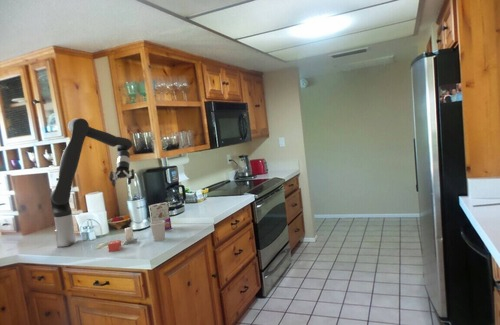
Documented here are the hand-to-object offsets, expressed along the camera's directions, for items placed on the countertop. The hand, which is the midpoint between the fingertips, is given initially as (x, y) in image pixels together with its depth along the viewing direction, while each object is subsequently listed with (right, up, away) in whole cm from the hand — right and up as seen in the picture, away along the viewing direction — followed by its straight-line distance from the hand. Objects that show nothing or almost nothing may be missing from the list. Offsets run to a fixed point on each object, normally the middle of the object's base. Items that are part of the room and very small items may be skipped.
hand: (121, 184), depth 203 cm
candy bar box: (+23, -28, +5) cm, 37 cm away
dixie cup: (+27, -30, -16) cm, 43 cm away
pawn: (+12, -30, -18) cm, 37 cm away
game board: (+5, -32, -19) cm, 38 cm away
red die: (+8, -32, -29) cm, 44 cm away
